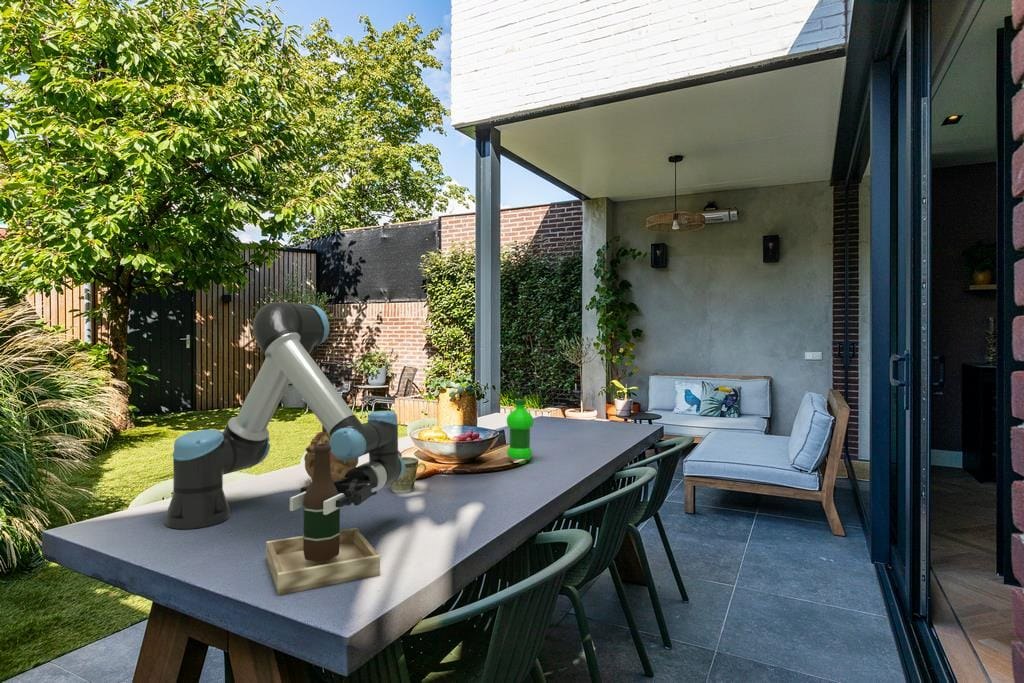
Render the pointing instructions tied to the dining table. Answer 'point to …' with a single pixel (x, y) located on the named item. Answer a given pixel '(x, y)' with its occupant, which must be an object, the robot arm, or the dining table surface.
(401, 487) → the ceramic cup
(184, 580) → the dining table surface
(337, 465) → the ceramic vessel
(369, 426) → the robot arm
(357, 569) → the oak tray
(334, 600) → the dining table surface
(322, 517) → the beer bottle
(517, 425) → the plastic bottle
